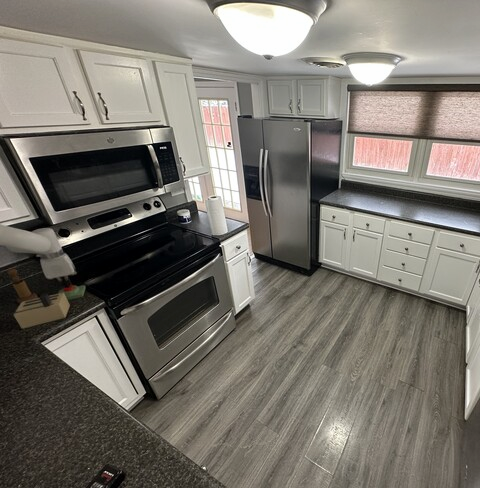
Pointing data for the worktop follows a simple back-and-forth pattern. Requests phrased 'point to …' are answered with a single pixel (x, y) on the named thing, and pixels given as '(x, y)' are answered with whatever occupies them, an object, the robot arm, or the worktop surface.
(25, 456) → the worktop surface
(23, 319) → the toaster
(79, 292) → the panel
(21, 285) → the wooden pepper mill
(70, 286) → the button
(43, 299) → the slider
